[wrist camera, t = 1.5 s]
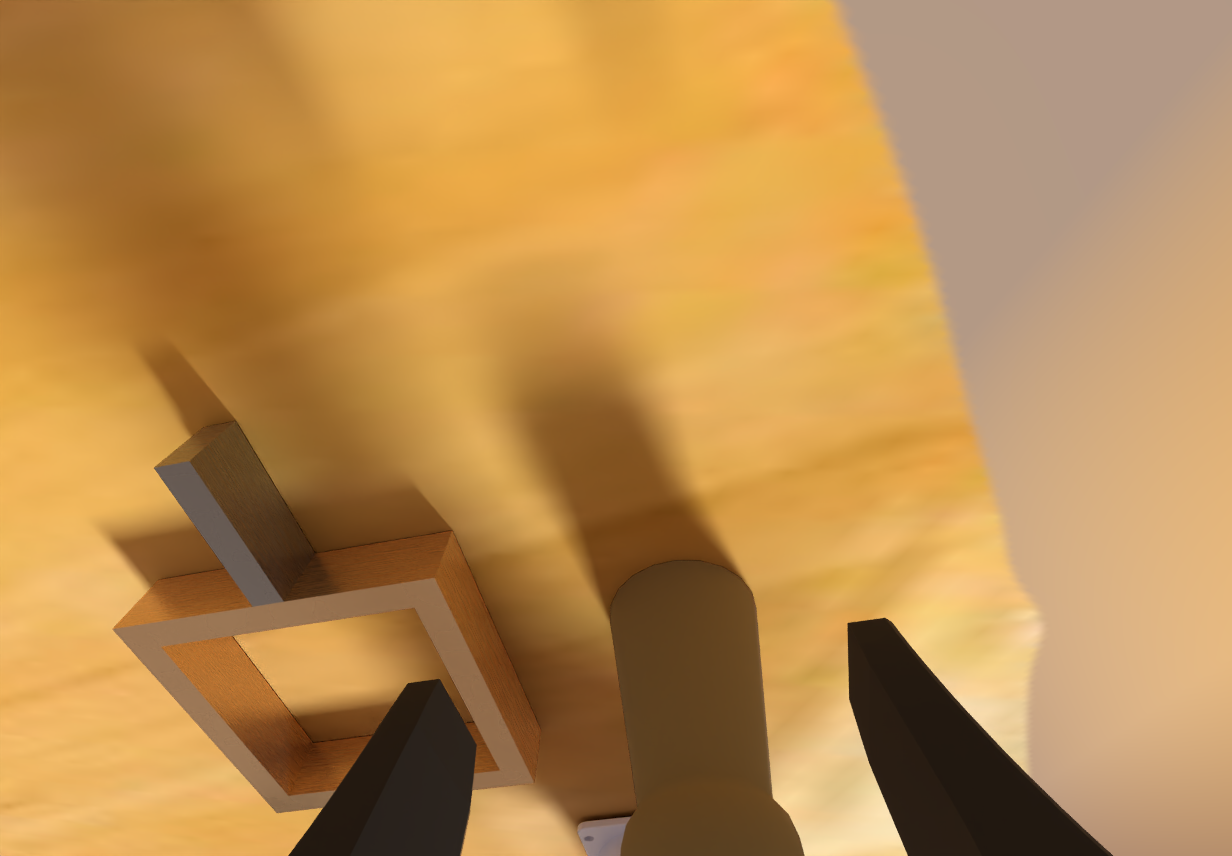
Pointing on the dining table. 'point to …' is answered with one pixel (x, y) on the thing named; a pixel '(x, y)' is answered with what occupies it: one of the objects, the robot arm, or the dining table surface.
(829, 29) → the dining table surface
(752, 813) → the cork
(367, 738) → the square frame
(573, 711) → the dining table surface
